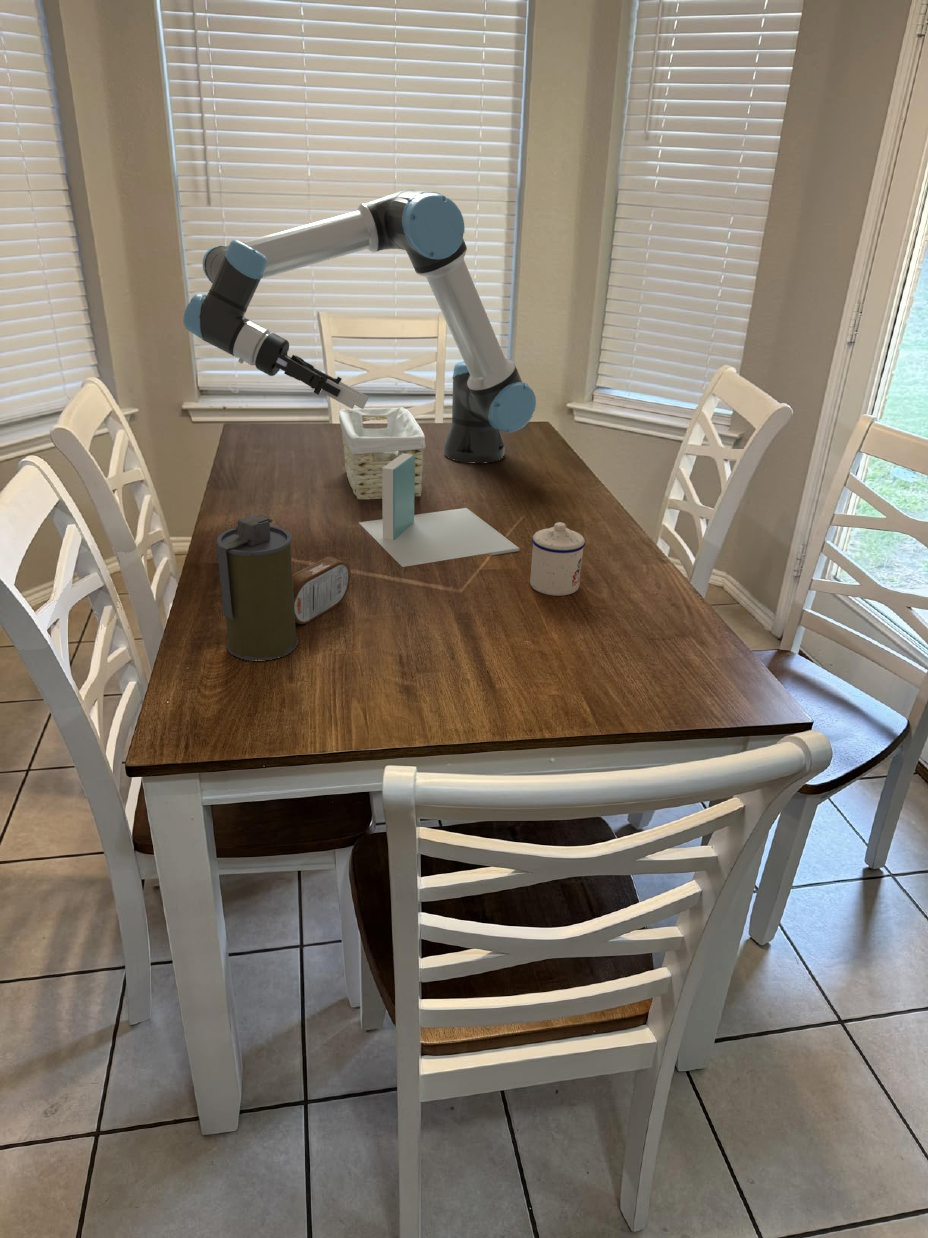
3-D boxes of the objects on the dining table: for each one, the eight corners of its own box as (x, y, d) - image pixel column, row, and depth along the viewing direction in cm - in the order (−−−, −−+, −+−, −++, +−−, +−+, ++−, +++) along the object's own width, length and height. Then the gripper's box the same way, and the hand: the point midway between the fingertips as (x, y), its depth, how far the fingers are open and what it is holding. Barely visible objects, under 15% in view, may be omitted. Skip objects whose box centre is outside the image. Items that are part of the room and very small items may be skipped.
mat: (466, 510, 186) (466, 507, 186) (518, 550, 168) (519, 548, 168) (358, 525, 176) (358, 522, 176) (402, 569, 158) (402, 566, 158)
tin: (339, 594, 149) (337, 548, 145) (354, 599, 147) (353, 552, 144) (279, 629, 137) (276, 580, 133) (294, 634, 136) (292, 585, 132)
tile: (382, 537, 170) (382, 467, 163) (402, 520, 178) (403, 453, 171) (394, 539, 169) (394, 469, 162) (414, 522, 177) (414, 454, 171)
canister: (267, 621, 139) (258, 502, 130) (312, 644, 133) (306, 520, 124) (210, 646, 131) (196, 521, 122) (255, 671, 126) (244, 541, 116)
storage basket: (426, 501, 190) (428, 434, 183) (351, 505, 187) (350, 437, 180) (406, 467, 211) (407, 405, 204) (339, 469, 207) (337, 407, 200)
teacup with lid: (583, 598, 151) (590, 534, 145) (530, 596, 151) (535, 533, 145) (575, 569, 161) (581, 509, 156) (526, 567, 161) (530, 507, 156)
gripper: (270, 370, 183) (361, 419, 184) (236, 363, 158) (341, 420, 160) (286, 336, 181) (377, 386, 183) (253, 325, 157) (359, 382, 158)
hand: (361, 402), depth 171 cm, fingers open, 13 cm apart
